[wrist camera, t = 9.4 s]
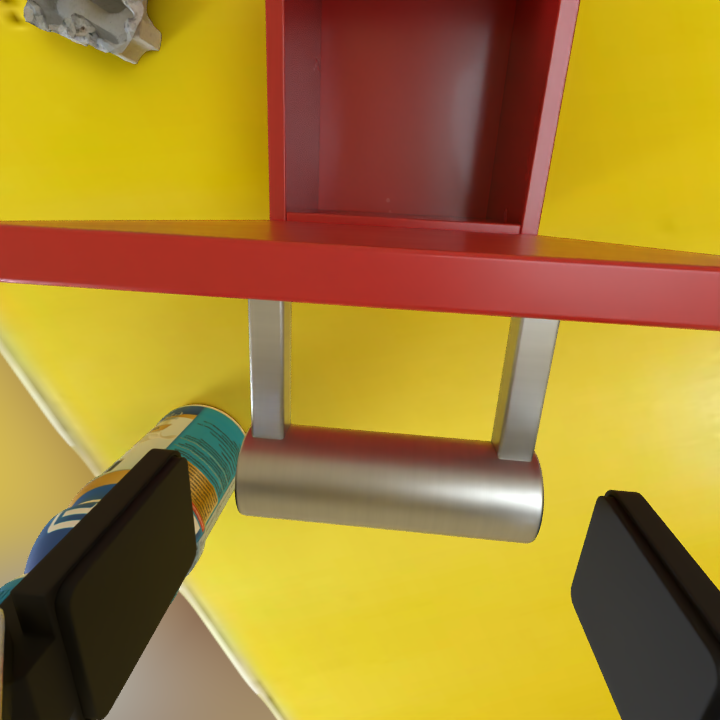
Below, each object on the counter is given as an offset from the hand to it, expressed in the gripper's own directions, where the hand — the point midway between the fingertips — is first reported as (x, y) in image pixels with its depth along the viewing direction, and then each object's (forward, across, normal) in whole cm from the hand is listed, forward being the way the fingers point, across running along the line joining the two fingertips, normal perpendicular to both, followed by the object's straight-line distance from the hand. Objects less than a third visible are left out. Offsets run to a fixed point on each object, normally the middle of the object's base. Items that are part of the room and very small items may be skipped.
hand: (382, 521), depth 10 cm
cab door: (+5, 0, -6) cm, 8 cm away
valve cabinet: (+23, 0, -12) cm, 26 cm away
